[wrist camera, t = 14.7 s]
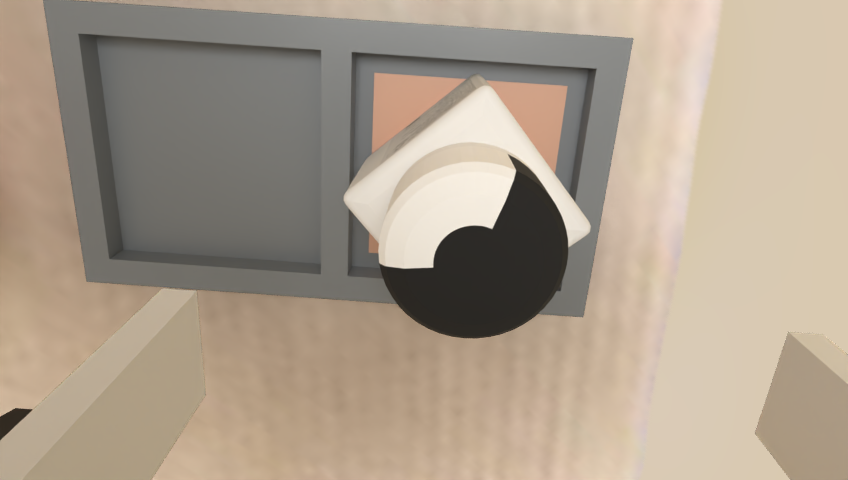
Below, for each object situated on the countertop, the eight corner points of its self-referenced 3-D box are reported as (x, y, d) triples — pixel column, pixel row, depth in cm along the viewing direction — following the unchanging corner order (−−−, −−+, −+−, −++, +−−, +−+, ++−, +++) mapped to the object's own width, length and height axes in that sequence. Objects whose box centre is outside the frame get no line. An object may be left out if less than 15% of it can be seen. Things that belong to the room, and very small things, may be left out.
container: (560, 185, 31) (636, 284, 19) (448, 264, 33) (451, 401, 21) (477, 69, 29) (501, 96, 17) (362, 160, 31) (309, 243, 19)
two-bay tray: (110, 264, 35) (86, 281, 33) (74, 0, 30) (42, -2, 27) (573, 298, 35) (583, 317, 32) (618, 37, 30) (633, 38, 27)
